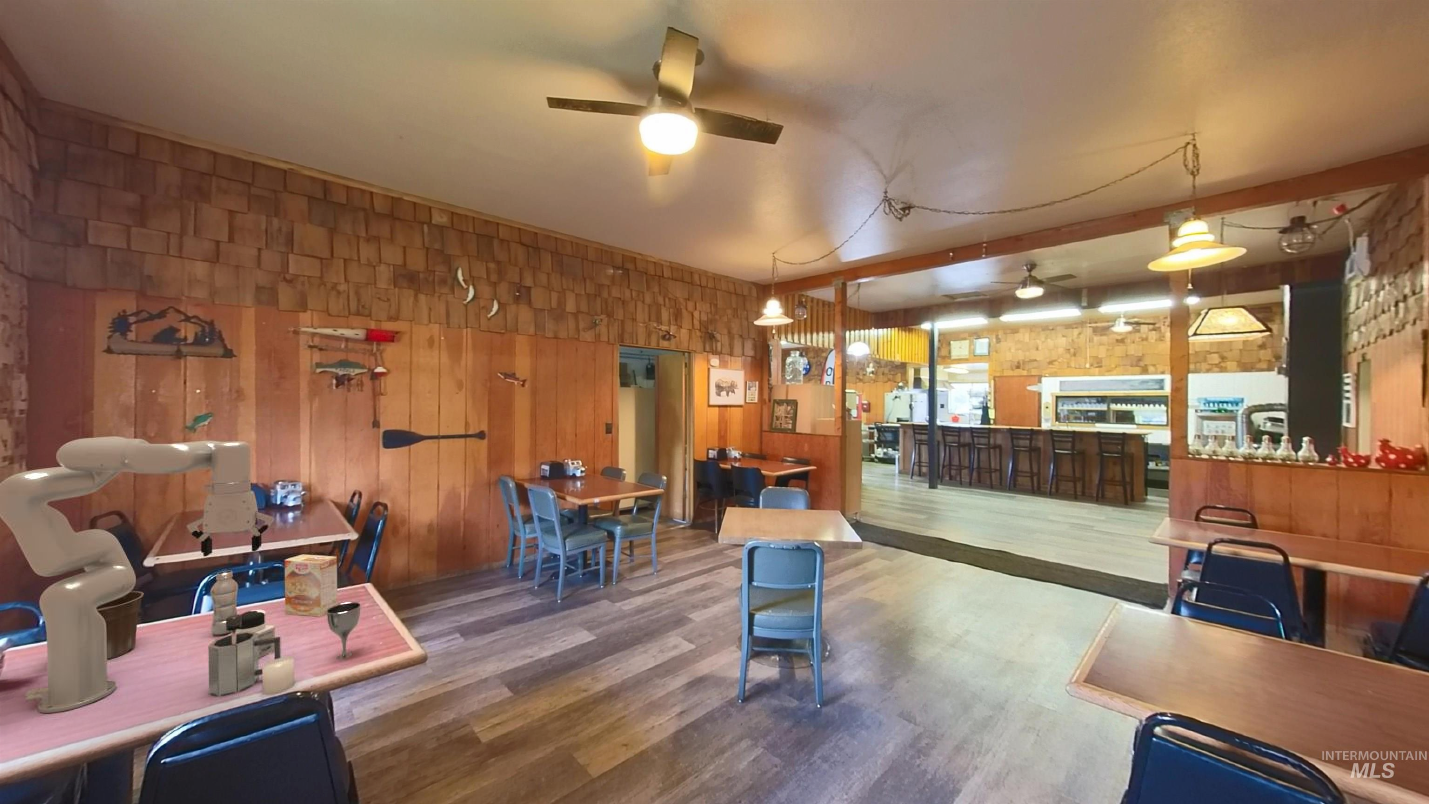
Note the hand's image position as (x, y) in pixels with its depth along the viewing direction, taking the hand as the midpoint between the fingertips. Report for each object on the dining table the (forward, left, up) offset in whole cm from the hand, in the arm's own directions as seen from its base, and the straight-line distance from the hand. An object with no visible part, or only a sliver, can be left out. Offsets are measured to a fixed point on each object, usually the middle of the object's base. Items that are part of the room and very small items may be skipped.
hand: (232, 552), depth 135 cm
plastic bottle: (-15, +43, -36) cm, 58 cm away
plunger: (0, 0, -33) cm, 34 cm away
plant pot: (-42, +41, -36) cm, 69 cm away
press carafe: (+3, 0, -36) cm, 36 cm away
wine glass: (+23, +6, -36) cm, 44 cm away
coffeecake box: (+6, +51, -36) cm, 63 cm away
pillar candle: (+11, -6, -36) cm, 38 cm away
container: (-2, +20, -36) cm, 41 cm away
